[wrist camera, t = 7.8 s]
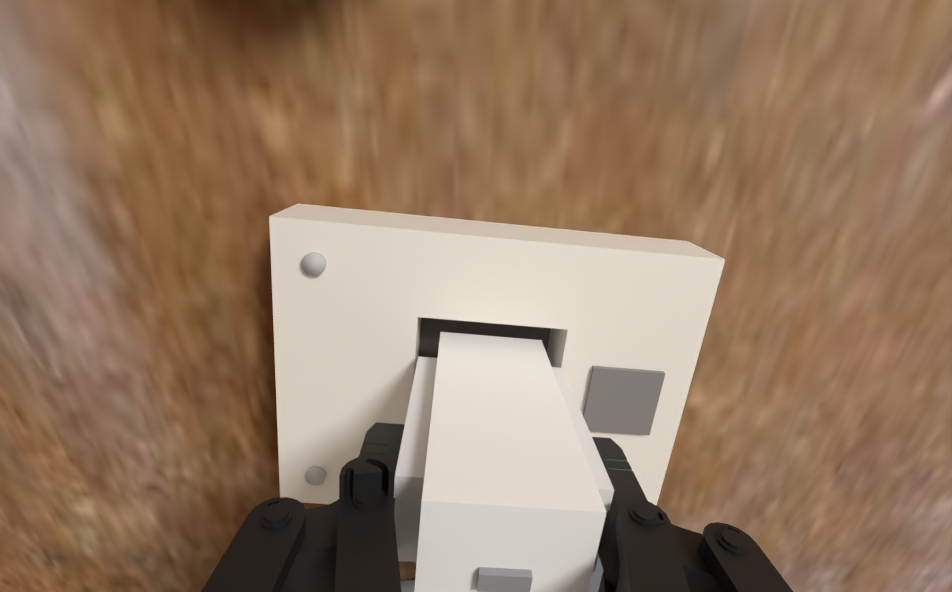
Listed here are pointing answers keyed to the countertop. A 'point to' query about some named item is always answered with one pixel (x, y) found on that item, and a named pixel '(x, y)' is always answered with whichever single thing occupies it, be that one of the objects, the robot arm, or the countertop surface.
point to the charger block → (504, 475)
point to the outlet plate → (475, 326)
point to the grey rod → (407, 585)
